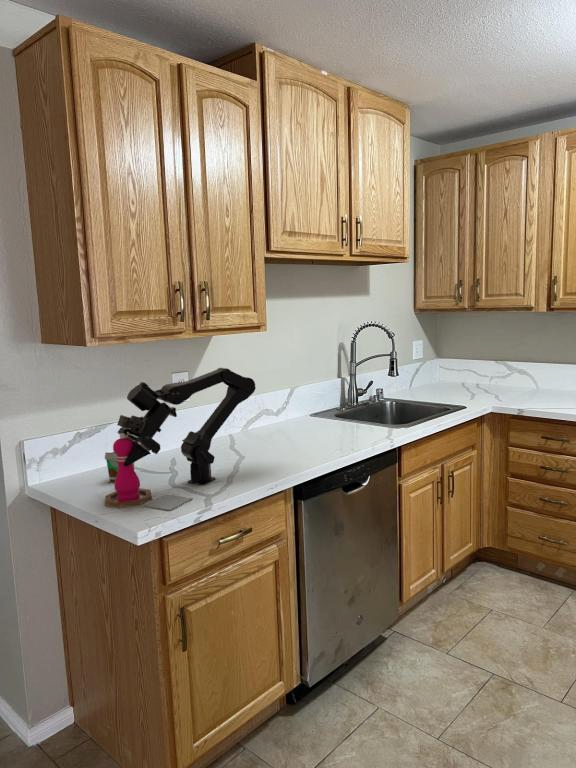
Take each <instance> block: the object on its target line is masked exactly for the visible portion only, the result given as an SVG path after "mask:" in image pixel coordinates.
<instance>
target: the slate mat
mask: <svg viewBox="0 0 576 768" xmlns="http://www.w3.org/2000/svg"><path fill="white" fill-rule="evenodd" d="M192 499H194V498H193V497H186V496H181V495H174V494H168V493H165V494H163V495H161V496H158V497H157V498H155V499H152V500H150V501H148V502H146V503H144V504H141V506H142V507H143V508H148V509H154V508H155V510H160V509H162V510H161V511H166V510H168V511H167V512H172V511H173V509H174V510H175V508H176V509H177V507H178V506H179V507H181V506H183V505H185V504H187V503H189V502H191V501H192ZM190 500H191V501H190ZM188 501H189V502H188ZM186 502H187V503H186ZM184 503H185V504H184ZM182 504H183V505H182ZM180 505H181V506H180ZM179 507H178V508H179ZM171 510H172V511H171Z"/></svg>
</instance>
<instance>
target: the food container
mask: <svg viewBox="0 0 576 768" xmlns="http://www.w3.org/2000/svg"><path fill="white" fill-rule="evenodd" d="M116 455H117V454H116V453H115V452H114V451H112V452H105V453H104V460H106V465H107V473H108V479H109V482H110V483H115V480H116V477H117V473H118V462H116ZM133 468H134V469H135V462H134V463H133Z"/></svg>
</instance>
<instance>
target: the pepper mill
mask: <svg viewBox="0 0 576 768" xmlns="http://www.w3.org/2000/svg"><path fill="white" fill-rule="evenodd" d="M125 437H126V434H125V433H121V434H119V438H118V439H116V440H115V441H114V443H113V445H112V450H113V451H112V452H115V453H116V454H117V455H116V461H118V473H117V477H116V480H115V482H114V490H115V492H116V491H117V492H118V493H119V494H118V495H117V497H116V498H117V502H126V501H134V500H138V499H140V497H141V496H140V494H139V492H138V491H137V490H138V489H139V488H141V487H140V486H141V481H140V479H139V476H138V474H137V473H136V472H135V467H134V468H133V463H132V464H130V465H129V466H127V467H125V466H124V465H123V464H124V462H125V460H126V458H127V456H128V455H129V453H130V451H131V450H132V440H131V439H129V438H125Z"/></svg>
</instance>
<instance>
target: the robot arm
mask: <svg viewBox="0 0 576 768" xmlns="http://www.w3.org/2000/svg"><path fill="white" fill-rule="evenodd" d="M221 383H223V384H225V385H226V386H227V389H226V393H225V397H224V398H223V399H222V400H221V402H219V404H218V405H217V407H216V409H214V411H213V412H212V414H211V415H210V416H209V418H207V420H206V421H205V422H204V424H203V425H202V426H201V427H200V429H199V430H197V431H196V432H194V431H191V430H190V431H189V432H188V434H187V435H186V437H185V438H184V439H182V444H181V445H180V452H181V454H182V455H183V456H184V457H185V458H186V460H187V461H188V462H191V463H190V470H189V471H190V479H188V480H187V483H189V484H195V485H203V486H204V485H206V484H208V483H210V482H213V481H215V480H216V477H215V476H212V469H211V466H212V464H214V461H215V456H214V455H213V454H212V453H211V452H209V450H210V448H211V444H212V440H213V438H214V437H215V436H216V434H217V433H218V431H219V430H221V429H220V428H222V426H223V425H224V423H225V422H226V421H227V419H229V417H230V416H231V415H232V413H233V411H235V409H236V407H238V405H239V404H241V403H242V402H244V401H246V400H248V399H249V397H251V396H252V395H253V394H254V392H255V391H256V388H257V387H256V382H255V381H254V379H253V378H251V377H245V376H243V375H240V374H238V373H236V372H234V371H232V370H231V369H229V368H226V367H219V368H217V369H215V370H213V371H210V372H207V373H205V374H203V375H199V376H198V377H194V378H191V379H189V380H186V381H179V382H178V381H177V382H172V383H166V384H165V385H163V386H162V387H161V388H160V389H156V390H153V389H151V387H149V385H148V384H147V383H146V382H144V381H141V382H140V383H139V384H137V385H136V386H134V387H133V388H132V389H131V390H129V392H128V393H127V396H126V400H127V401H128V402H130V403H131V404H132V405H134V406H135V407H136V408H137V409H139V410H140V411H141V412H146V411H147V412H146V413H145V414H144V416H135V415H133V414H132V415H131V416H130V417H128V416H126V415H122V414H120V416H119V419H118V421H117V426H119V427H120V428H119V429H118V431H117V432H116V433H117V434H118V435H120V434H121V433H125V434H126V437H125V438H129V439H131V440H132V450H131V451H130V453H129V455H128V456H127V458H126V460H125V462H124V464H123V465H124V466H125V467H127V466H129V465H130V464H132V463H134V464H135V463H136V462H137V461H139V460H141V459H143V458H145V457H147V456H149V455H151V454H152V453H153V454H155V455H158V454H159V452H160V451H161V444H160V443H159V442H158V441H156V440H155V439H154V436H155V435H156V434H157V433H161V431H162V428H161V427H162V425H163V424H164V423H165V421H166V420H167V419H168V417H169V416H171V417H173V418H176V417H177V416H178V413H177V408H176V407H173V406H170V405H174V406H177V405H181V404H183V403H184V402H185V401H188V400H189V399H190V398H191V397H192V396H193V395H195V394H196V393H198V392H201V391H203V390H206V389H208V388H211V387H214V386H216V385H218V384H221ZM159 400H160V401H162V402H160V401H159ZM169 404H170V405H169ZM150 451H151V452H152V453H151V452H150ZM116 462H118V461H116Z"/></svg>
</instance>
